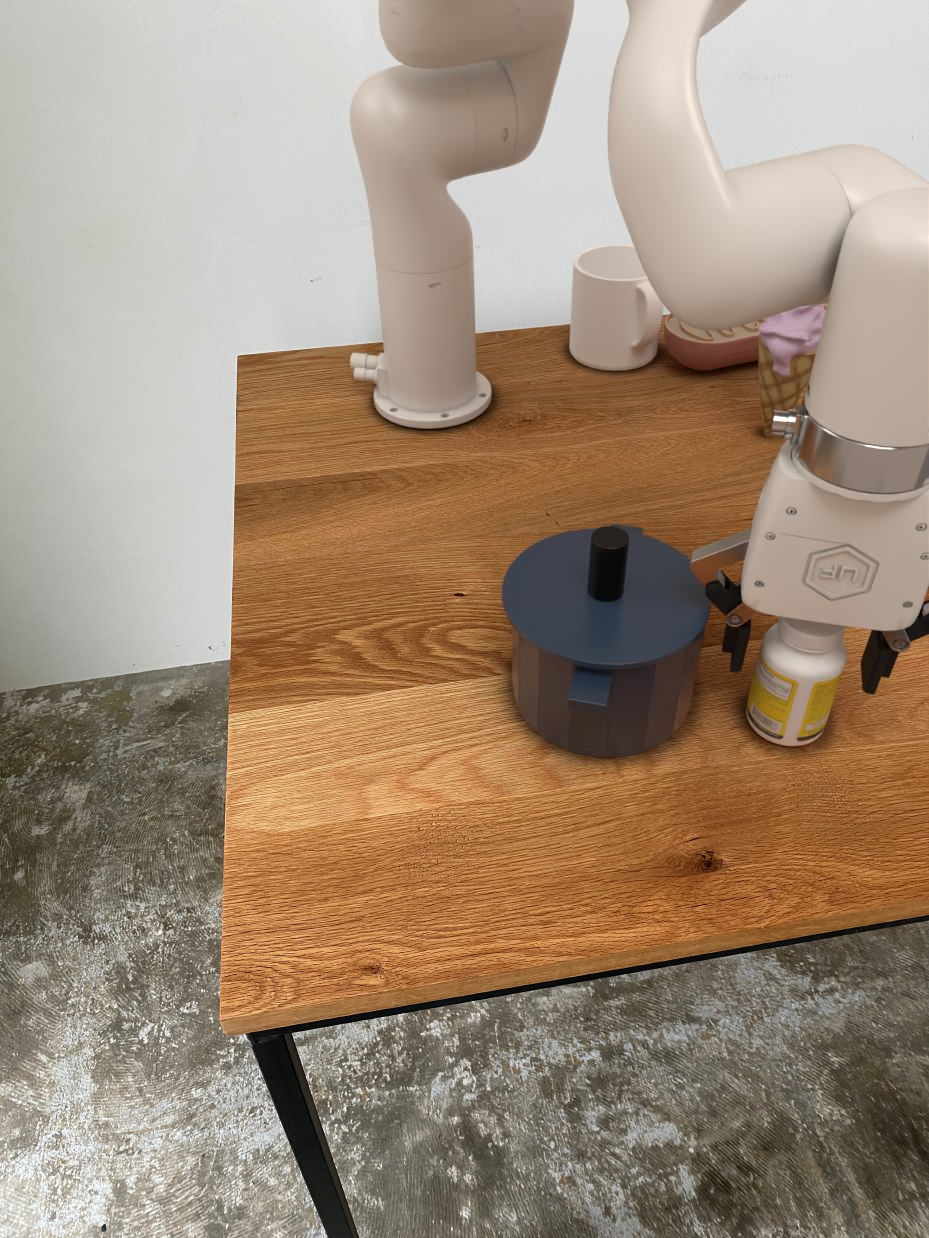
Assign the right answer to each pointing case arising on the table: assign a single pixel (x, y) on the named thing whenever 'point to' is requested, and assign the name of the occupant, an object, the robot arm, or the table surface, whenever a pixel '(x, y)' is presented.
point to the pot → (603, 699)
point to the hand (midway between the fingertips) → (800, 667)
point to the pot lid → (605, 598)
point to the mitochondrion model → (712, 344)
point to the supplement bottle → (796, 680)
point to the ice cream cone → (787, 358)
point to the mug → (613, 310)
